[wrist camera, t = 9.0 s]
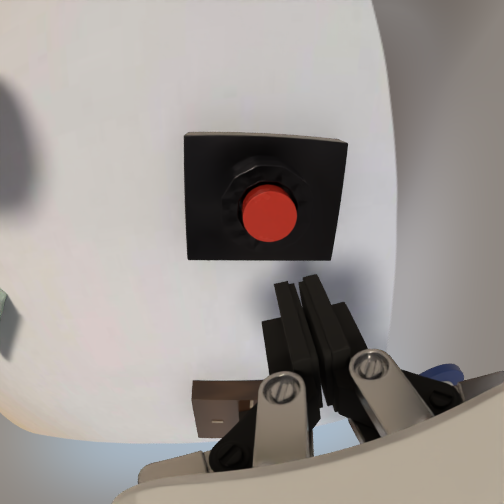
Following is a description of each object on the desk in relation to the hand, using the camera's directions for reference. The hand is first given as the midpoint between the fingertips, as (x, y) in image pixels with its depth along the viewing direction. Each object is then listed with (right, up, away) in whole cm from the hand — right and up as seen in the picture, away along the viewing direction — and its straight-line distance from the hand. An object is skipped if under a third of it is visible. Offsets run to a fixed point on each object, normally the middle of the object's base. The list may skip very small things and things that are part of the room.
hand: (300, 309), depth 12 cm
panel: (-2, -18, +26) cm, 32 cm away
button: (-1, +5, +10) cm, 11 cm away
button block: (-1, +7, +13) cm, 15 cm away
